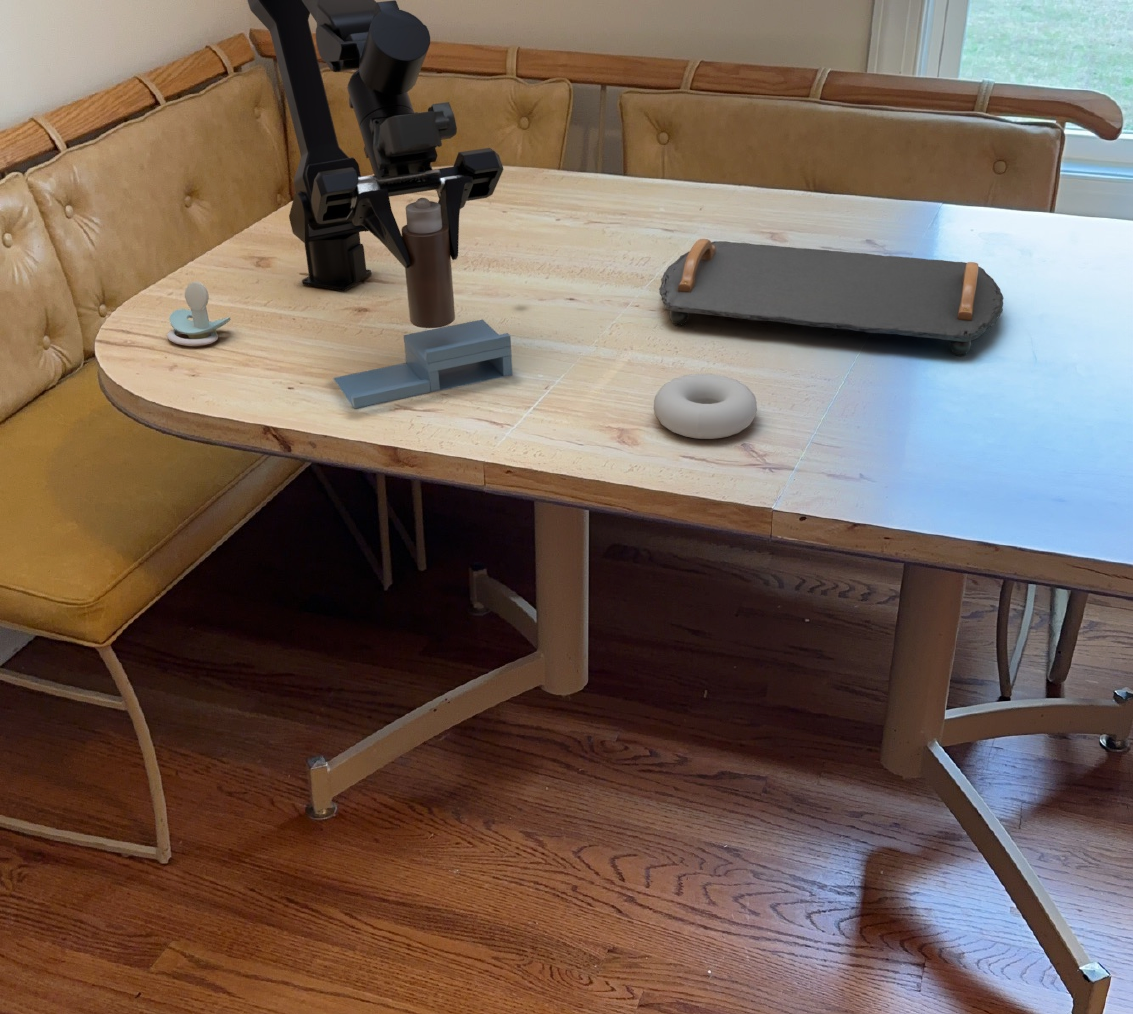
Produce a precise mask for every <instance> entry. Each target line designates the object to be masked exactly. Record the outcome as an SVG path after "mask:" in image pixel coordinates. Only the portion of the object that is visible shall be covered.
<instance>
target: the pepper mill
mask: <svg viewBox="0 0 1133 1014" xmlns="http://www.w3.org/2000/svg"><path fill="white" fill-rule="evenodd" d="M405 217H406V219H405V220H406V224H405V225H403V226H402V227H401V230H400V232H401V235H402V238H403V240H404V243H405V245H406V248H407V251H408V255H409V259H410V267H409V268H405V267H404V272H405V273H404V274H405V283H406V293H407V294H406V295H407V303H408V315H409V322H410V323H411V324H412V325H413V326H414V327H418V328H423V329H437V328H442V327H447V326H450V325H452V324H453V323H454V321H455V320H456V311H455V310H456V309H455V298H454V297H455V296H454V283H453V272H452V271H453V270H452V269H453V268H452V258H451V255H450V242H449V228H448V225H447V224H445V223H442V217H441V206H440V204H439V203H438V201H437V202H436V201H433V200H429V199H428V198H426V197H420V198H417V200H416V201H414V202H411V203H408V204H406V205H405Z"/></svg>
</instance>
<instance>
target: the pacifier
mask: <svg viewBox="0 0 1133 1014" xmlns="http://www.w3.org/2000/svg"><path fill="white" fill-rule="evenodd" d="M209 295H210V294H209V291H208V289H207V287H206V286H205V284H203V283H202V282H200V281H191V282H189V283H188V284H187V286H186V288H185V291H184V298H185V299H184V300H185V302H186V304H187V307H188V308H190V309H186V308H178V309H175V310H174V311H172V312H171V313H170V315H169V323H170V326H171V327H172V328H173V329H171V330H169V331H168V332H167V334H166V338H167V340H169V341H170V342H172V343H173V344H176V345H181V346H187V347H197V346H198V347H201V346H207V345H211V344H213V343H215V342H216V341H217V340H219V335H218V333H217V330H218V329H220V328H221V327H223V326H226V324H228V323H229V322H230V321H231V320H232V319H231V316H228V317H225V318H221V319H217V320H213V321H210V319H209V313H208V309H207V306H208V304H209V299H210V296H209ZM190 319H192V320H190ZM181 334H184V335H186V336H187V337H188V338H183V337H180V336H179V335H181Z"/></svg>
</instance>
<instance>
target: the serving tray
mask: <svg viewBox="0 0 1133 1014" xmlns="http://www.w3.org/2000/svg"><path fill="white" fill-rule="evenodd" d="M660 283H661V284H660V286H659V295H660V296H661V301H662V304H663V306H664V307H665V308H666V309H667V310H668V311H670V312H669V319H670V320H671V322H672V324H673V325H674V326H684V325H685V324H686V322H687V321H688V320H689V314H696V315H697V314H698V315H706V316H714V317H723V318H725V317H726V318H733V319H742V320H749V321H763V322H774V323H775V322H776V323H784V324H791V325H796V326H797V325H798V326H805V327H806V326H807V327H811V328H827V329H835V330H836V329H838V330H848V331H853V332H854V331H855V332H862V333H863V332H864V333H867V334H887V335H899V336H905V337H908V336H909V337H915V338H925V339H936V340H942V341H943V340H944V341H950V343H949V347H950V350H951V351H952V354H953V355H954V356H957V357H965V356H966V355H967V353H968V352H969V351H970V350H971V347H972V341H973V340H975V339H977V338H979V337H980V336H982V334H984V333H985V332H987V331H988V330H989V329H991V328H992V327H993V325H995V324H996V323H997V321H998V318H999V317H1001V315H1002V314H1003V312H1004V311H1003V310H1004V309H1003V308H1004V295H1003V294H1002V292H1001V287H999V285H998V284H997V282H996V281H995V280H994V278H993V277H991V276H990V275H989V273H987V272H986V270H985V269H984V268H982V267H981V266H979V263H977V262H976V261H975V262H974V261H968V262H964V261H952V260H945V259H944V260H943V259H928V258H918V257H908V256H897V255H896V256H895V255H882V254H874V253H873V254H872V253H865V252H851V251H841V250H829V249H817V248H807V247H806V248H803V247H793V246H782V245H781V246H780V245H773V244H756V243H749V242H733V241H728V240H727V241H726V240H725V241H723V240H718V241H717V240H716V241H715V240H714V241H711V240H710V239H708V238H700V239H698V240H696V241H695V242H694V243H693V245H692V247H691V248H690V250H689V251H687V252H686V253H684V254H682V255H680V256H679V257H678V259H676V260H675V261H674V262H673V263H671V264H669V265H668V267H667V268H666V270H664V272H663V275H662V277H661V278H660Z"/></svg>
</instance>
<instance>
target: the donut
mask: <svg viewBox="0 0 1133 1014" xmlns="http://www.w3.org/2000/svg"><path fill="white" fill-rule="evenodd" d="M653 411H654V414H655V416H656V418H657V419H658V421H659V422H660V424H661V425H662V426H663V427H664V428H666V429H668V430H669V431H670V432H672V433H673V434H677V435H680V436H682V437H687V438H691V439H692V438H693V439H701V440H716V439H723V438H727V437H728V438H729V437H731V436H734V435H737V434H739V433H741V432H742V431H743V430H745V429H746V428H748V427H749V426H751V424H752V423H753V420H754V418H755V417H756V416H757V411H758V404H757V398H756V396H755V394H754V391H752V390H751V389H750V388H749V386H748V385H746V384H745V383H743V382H742V381H740V380H738V379H735V378H733V377H729V376H726V375H722V374H717V373H716V374H715V373H691V374H684V375H681V376H677V377H675V378H672V379H671V380H669V381H667V382H665V383H664V384H663V385H662V386H661V387H660V388H659V390H658V391H657V392H656V394H655V396H654V399H653Z"/></svg>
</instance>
